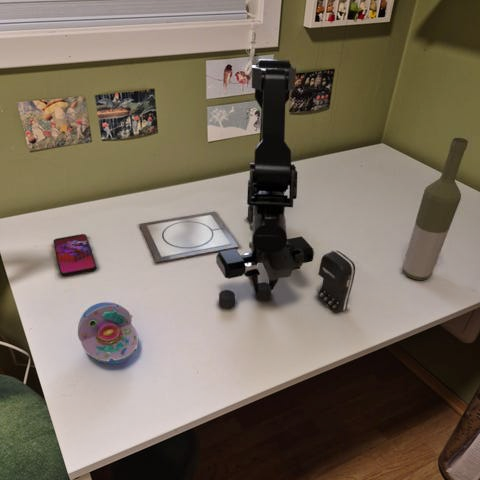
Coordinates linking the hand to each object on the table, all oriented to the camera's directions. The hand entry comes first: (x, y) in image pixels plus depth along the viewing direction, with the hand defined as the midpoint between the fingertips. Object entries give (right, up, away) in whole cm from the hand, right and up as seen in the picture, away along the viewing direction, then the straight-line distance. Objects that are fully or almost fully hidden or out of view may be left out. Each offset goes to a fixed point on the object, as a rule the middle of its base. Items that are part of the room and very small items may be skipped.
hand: (263, 290), depth 97 cm
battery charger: (+14, -3, 0) cm, 14 cm away
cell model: (-28, -12, -12) cm, 33 cm away
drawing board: (-18, +15, +18) cm, 29 cm away
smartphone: (-43, +9, +10) cm, 45 cm away
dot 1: (-7, -3, -1) cm, 8 cm away
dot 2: (0, -1, +1) cm, 1 cm away
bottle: (+35, +4, +9) cm, 36 cm away
